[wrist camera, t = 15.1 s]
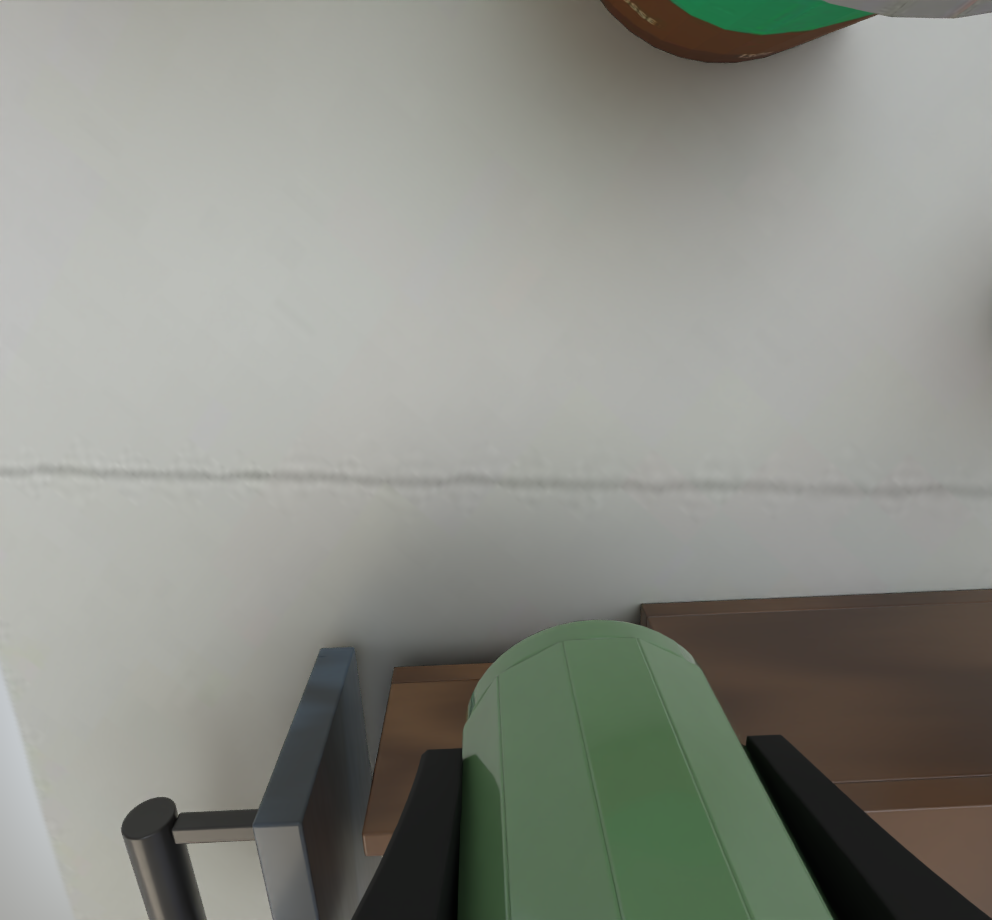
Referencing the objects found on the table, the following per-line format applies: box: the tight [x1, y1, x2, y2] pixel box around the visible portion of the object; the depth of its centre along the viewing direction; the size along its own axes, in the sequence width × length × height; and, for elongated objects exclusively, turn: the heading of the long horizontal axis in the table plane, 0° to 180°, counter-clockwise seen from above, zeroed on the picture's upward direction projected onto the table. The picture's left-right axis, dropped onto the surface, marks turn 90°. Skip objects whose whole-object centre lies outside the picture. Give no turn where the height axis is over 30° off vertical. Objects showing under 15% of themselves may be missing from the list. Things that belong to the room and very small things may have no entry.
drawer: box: [121, 647, 493, 920], centre depth 20 cm, size 18×11×7 cm, turn 92°
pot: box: [457, 620, 839, 920], centre depth 10 cm, size 5×5×6 cm
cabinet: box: [640, 589, 992, 918], centre depth 20 cm, size 15×12×9 cm
